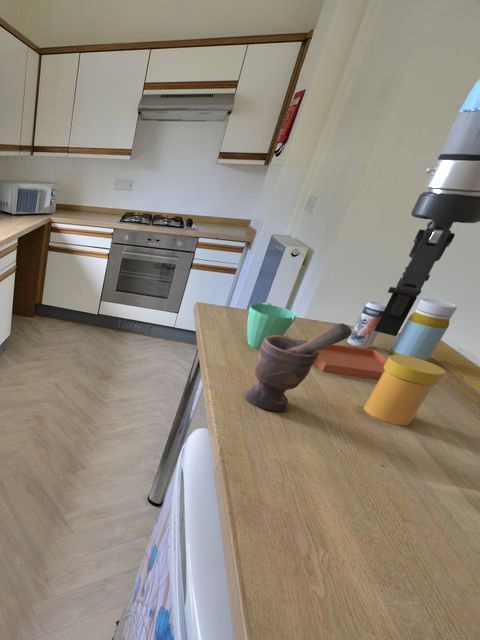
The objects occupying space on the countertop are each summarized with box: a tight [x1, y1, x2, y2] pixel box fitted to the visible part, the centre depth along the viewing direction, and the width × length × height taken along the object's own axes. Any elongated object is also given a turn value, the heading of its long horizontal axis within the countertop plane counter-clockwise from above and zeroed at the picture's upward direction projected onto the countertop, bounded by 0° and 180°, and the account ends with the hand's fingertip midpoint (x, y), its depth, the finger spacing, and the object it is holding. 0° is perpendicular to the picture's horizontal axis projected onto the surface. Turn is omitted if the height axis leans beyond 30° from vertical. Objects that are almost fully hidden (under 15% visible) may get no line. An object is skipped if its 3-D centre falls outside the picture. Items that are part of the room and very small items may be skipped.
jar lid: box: [384, 354, 446, 386], centre depth 76 cm, size 8×8×2 cm
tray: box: [299, 339, 389, 381], centre depth 100 cm, size 17×14×2 cm
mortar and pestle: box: [244, 322, 353, 413], centre depth 77 cm, size 12×9×20 cm
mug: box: [246, 302, 297, 350], centre depth 108 cm, size 15×10×10 cm
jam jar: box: [363, 370, 435, 426], centre depth 78 cm, size 7×7×11 cm
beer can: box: [347, 301, 387, 349], centre depth 108 cm, size 5×5×12 cm
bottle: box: [390, 298, 458, 362], centre depth 102 cm, size 7×7×15 cm
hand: (389, 323), depth 70 cm, fingers open, 13 cm apart
